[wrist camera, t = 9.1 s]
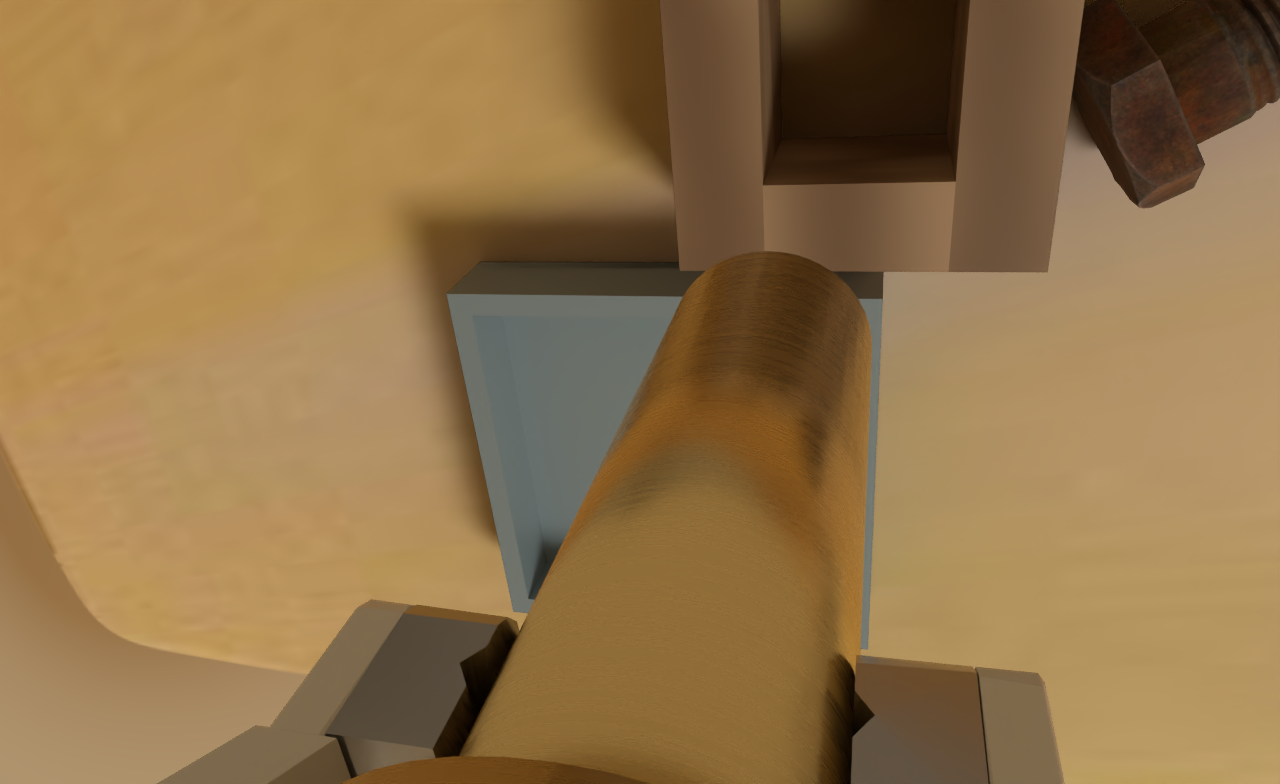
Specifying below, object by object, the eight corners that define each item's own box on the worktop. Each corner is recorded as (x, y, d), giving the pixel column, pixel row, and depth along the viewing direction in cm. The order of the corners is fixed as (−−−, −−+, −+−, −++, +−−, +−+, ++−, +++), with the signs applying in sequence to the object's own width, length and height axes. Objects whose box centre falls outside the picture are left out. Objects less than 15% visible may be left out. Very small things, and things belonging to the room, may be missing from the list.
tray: (883, 262, 30) (882, 299, 27) (869, 596, 37) (868, 649, 35) (479, 262, 34) (446, 293, 31) (537, 565, 41) (513, 611, 38)
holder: (1068, -162, 23) (1107, -169, 19) (1024, 212, 28) (1047, 272, 24) (690, -122, 26) (650, -119, 22) (709, 215, 31) (679, 270, 26)
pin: (937, 197, 13) (1071, 1128, 3) (915, 478, 15) (957, 1492, 6) (611, 201, 14) (27, 892, 4) (637, 461, 16) (288, 1275, 7)
